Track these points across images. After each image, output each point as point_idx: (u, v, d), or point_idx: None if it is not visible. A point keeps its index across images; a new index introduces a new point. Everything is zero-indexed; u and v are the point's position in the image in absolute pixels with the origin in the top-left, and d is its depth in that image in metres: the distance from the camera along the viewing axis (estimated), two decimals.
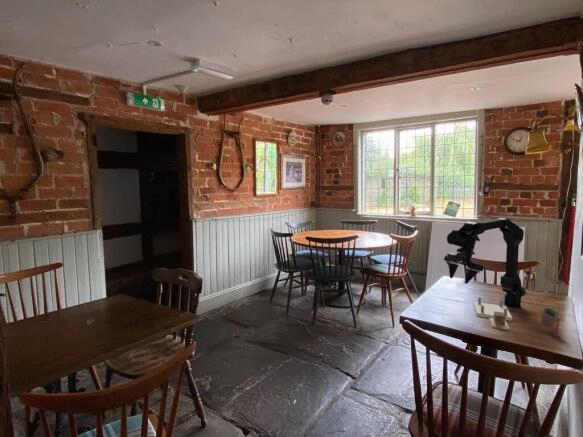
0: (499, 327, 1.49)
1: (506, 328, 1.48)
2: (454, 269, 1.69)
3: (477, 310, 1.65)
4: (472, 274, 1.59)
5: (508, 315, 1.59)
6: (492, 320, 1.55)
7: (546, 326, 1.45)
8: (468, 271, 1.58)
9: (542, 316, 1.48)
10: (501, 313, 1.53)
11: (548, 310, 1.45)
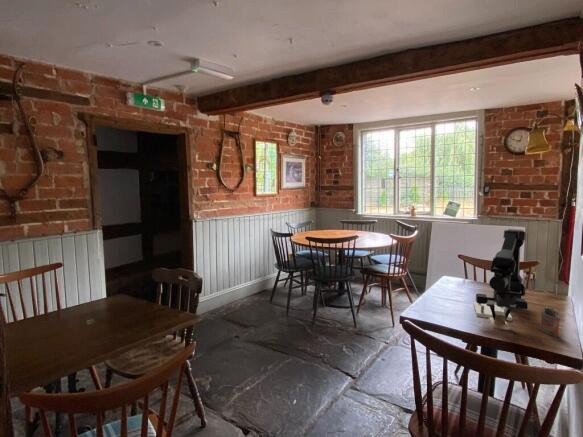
0: (499, 326, 1.49)
1: (506, 327, 1.48)
2: None
3: (477, 310, 1.65)
4: None
5: (508, 315, 1.59)
6: (492, 319, 1.55)
7: (546, 326, 1.45)
8: (510, 310, 1.49)
9: (542, 316, 1.48)
10: (501, 312, 1.53)
11: (548, 310, 1.45)
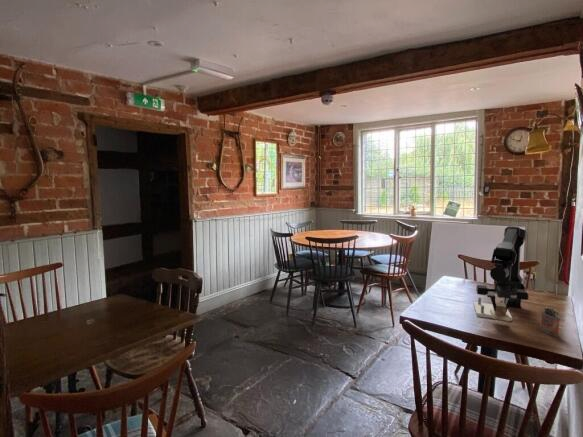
0: (500, 317, 1.48)
1: (507, 318, 1.47)
2: None
3: (477, 310, 1.65)
4: None
5: (508, 315, 1.59)
6: (493, 311, 1.54)
7: (546, 326, 1.45)
8: (511, 301, 1.48)
9: (542, 316, 1.48)
10: (502, 304, 1.52)
11: (548, 310, 1.45)
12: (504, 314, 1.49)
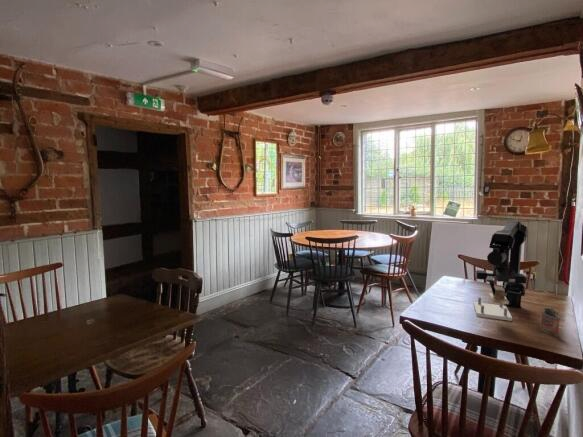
0: (499, 301, 1.52)
1: (506, 302, 1.51)
2: None
3: (477, 310, 1.65)
4: None
5: (508, 315, 1.59)
6: (492, 295, 1.58)
7: (546, 326, 1.45)
8: (509, 285, 1.52)
9: (542, 316, 1.48)
10: (500, 288, 1.56)
11: (548, 310, 1.45)
12: (503, 298, 1.53)
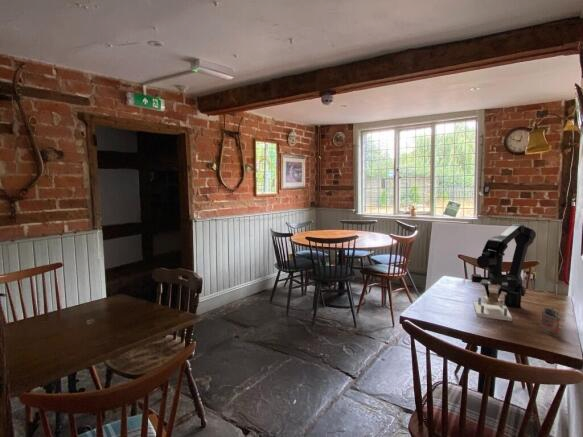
0: (493, 303, 1.62)
1: (499, 304, 1.61)
2: None
3: (477, 310, 1.65)
4: None
5: (508, 315, 1.59)
6: (486, 297, 1.69)
7: (546, 326, 1.45)
8: (502, 288, 1.62)
9: (542, 316, 1.48)
10: (494, 291, 1.66)
11: (548, 310, 1.45)
12: (496, 300, 1.63)
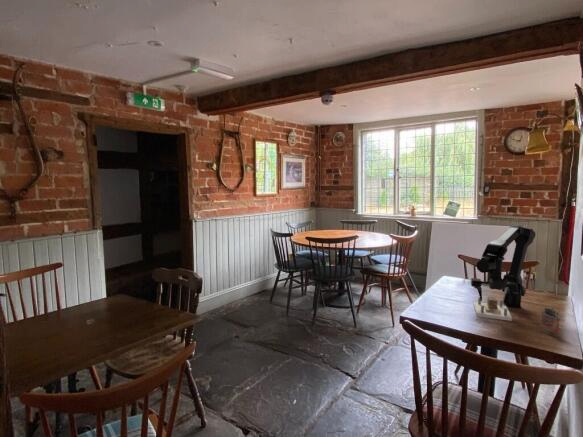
0: (492, 310, 1.63)
1: (498, 311, 1.62)
2: None
3: (477, 310, 1.65)
4: None
5: (508, 315, 1.59)
6: (486, 305, 1.69)
7: (546, 326, 1.45)
8: (509, 293, 1.61)
9: (542, 316, 1.48)
10: (494, 298, 1.67)
11: (548, 310, 1.45)
12: (496, 307, 1.64)
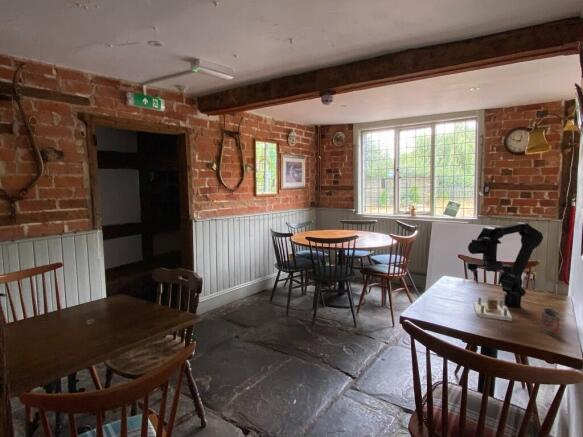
0: (492, 310, 1.63)
1: (498, 311, 1.62)
2: None
3: (477, 310, 1.65)
4: None
5: (508, 315, 1.59)
6: (486, 305, 1.69)
7: (546, 326, 1.45)
8: (504, 275, 1.66)
9: (542, 316, 1.48)
10: (494, 298, 1.67)
11: (548, 310, 1.45)
12: (496, 307, 1.64)
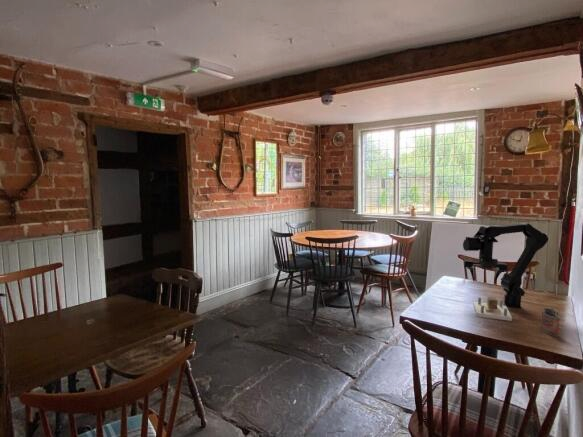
0: (492, 310, 1.63)
1: (498, 311, 1.62)
2: None
3: (477, 310, 1.65)
4: None
5: (508, 315, 1.59)
6: (486, 305, 1.69)
7: (546, 326, 1.45)
8: (499, 272, 1.70)
9: (542, 316, 1.48)
10: (494, 298, 1.67)
11: (548, 310, 1.45)
12: (496, 307, 1.64)
